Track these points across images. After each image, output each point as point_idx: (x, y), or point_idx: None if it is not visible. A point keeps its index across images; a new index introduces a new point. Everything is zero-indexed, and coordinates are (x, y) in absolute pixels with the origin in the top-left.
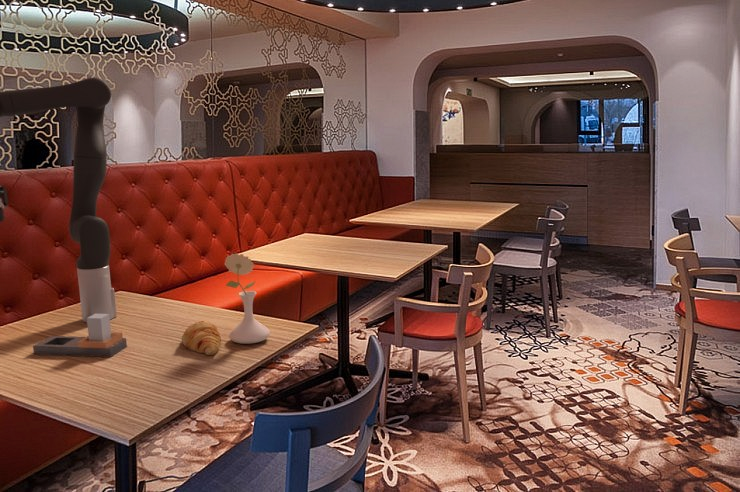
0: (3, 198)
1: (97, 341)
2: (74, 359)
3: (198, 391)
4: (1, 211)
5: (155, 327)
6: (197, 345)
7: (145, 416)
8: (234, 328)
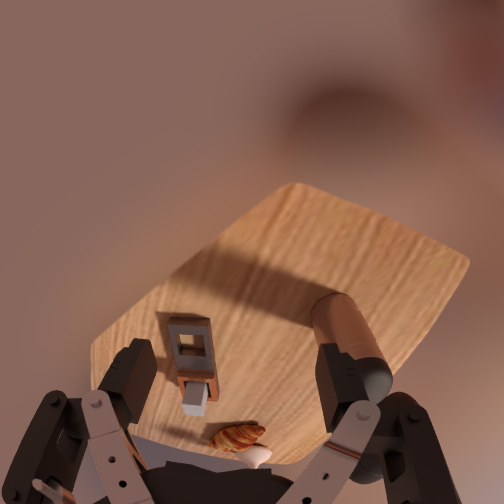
0: (388, 480)
1: (183, 391)
2: (171, 363)
3: (151, 438)
4: (326, 420)
5: (291, 390)
6: (214, 439)
7: None
8: (250, 454)
